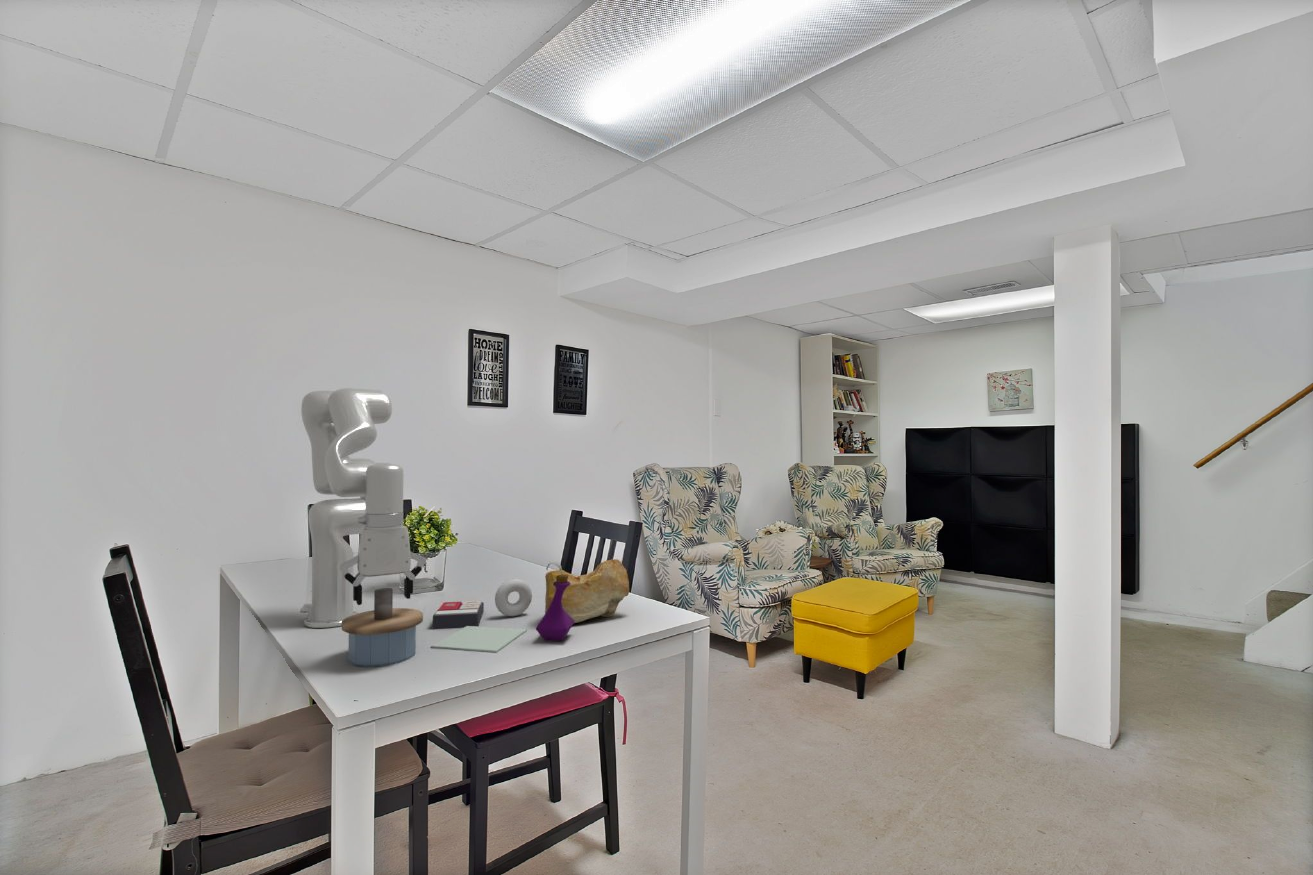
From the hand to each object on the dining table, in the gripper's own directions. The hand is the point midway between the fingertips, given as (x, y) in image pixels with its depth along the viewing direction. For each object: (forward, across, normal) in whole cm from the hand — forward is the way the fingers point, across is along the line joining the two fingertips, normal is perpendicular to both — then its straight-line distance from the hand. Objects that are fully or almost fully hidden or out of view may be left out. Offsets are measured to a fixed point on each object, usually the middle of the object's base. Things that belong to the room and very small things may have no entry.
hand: (383, 600), depth 130 cm
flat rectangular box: (+12, +22, +19) cm, 32 cm away
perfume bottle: (+12, +36, -9) cm, 39 cm away
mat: (+12, +21, 0) cm, 24 cm away
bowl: (+12, 0, 0) cm, 12 cm away
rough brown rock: (+12, +50, +5) cm, 52 cm away
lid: (+5, 0, 0) cm, 5 cm away
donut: (+12, +35, +15) cm, 40 cm away
